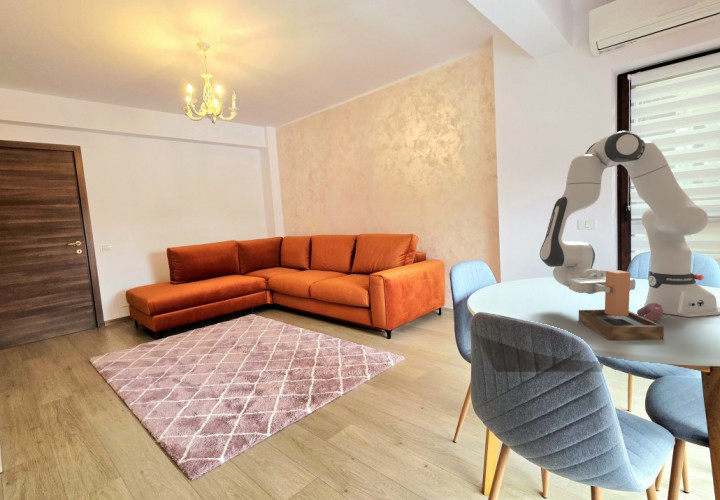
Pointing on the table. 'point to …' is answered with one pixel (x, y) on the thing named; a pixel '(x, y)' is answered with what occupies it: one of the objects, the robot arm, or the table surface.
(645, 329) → the box
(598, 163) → the robot arm
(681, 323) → the table surface
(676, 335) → the table surface
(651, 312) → the video game controller
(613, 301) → the peg
